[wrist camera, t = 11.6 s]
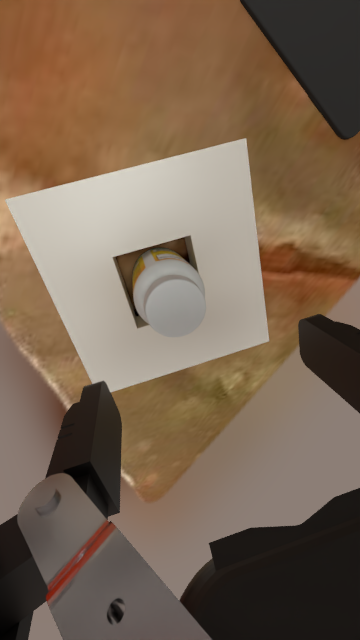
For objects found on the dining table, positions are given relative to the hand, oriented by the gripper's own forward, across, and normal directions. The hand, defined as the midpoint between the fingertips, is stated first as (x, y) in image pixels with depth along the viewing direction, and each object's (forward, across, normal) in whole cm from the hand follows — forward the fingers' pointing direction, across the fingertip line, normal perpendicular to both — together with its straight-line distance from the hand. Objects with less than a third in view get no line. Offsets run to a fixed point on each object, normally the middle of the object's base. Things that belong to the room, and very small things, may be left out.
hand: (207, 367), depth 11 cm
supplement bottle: (+17, 0, 0) cm, 17 cm away
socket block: (+16, 0, 0) cm, 17 cm away
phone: (+17, -18, -15) cm, 29 cm away
